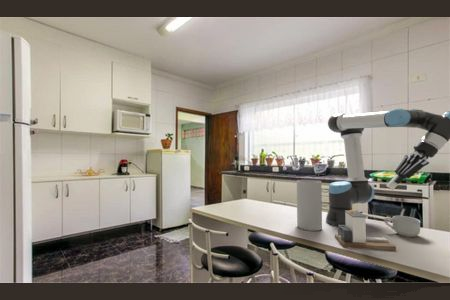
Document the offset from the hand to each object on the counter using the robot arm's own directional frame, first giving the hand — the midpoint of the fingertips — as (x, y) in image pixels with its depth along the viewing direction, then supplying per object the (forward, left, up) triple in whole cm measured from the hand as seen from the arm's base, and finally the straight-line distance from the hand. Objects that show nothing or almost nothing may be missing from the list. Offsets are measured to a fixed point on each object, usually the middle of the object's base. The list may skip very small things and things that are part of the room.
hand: (389, 187), depth 99 cm
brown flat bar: (+2, -12, -23) cm, 26 cm away
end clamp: (+2, -20, -23) cm, 30 cm away
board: (+2, -12, -24) cm, 27 cm away
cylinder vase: (-17, -31, -25) cm, 43 cm away
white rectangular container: (+2, -15, -23) cm, 27 cm away
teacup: (-14, +12, -25) cm, 31 cm away
